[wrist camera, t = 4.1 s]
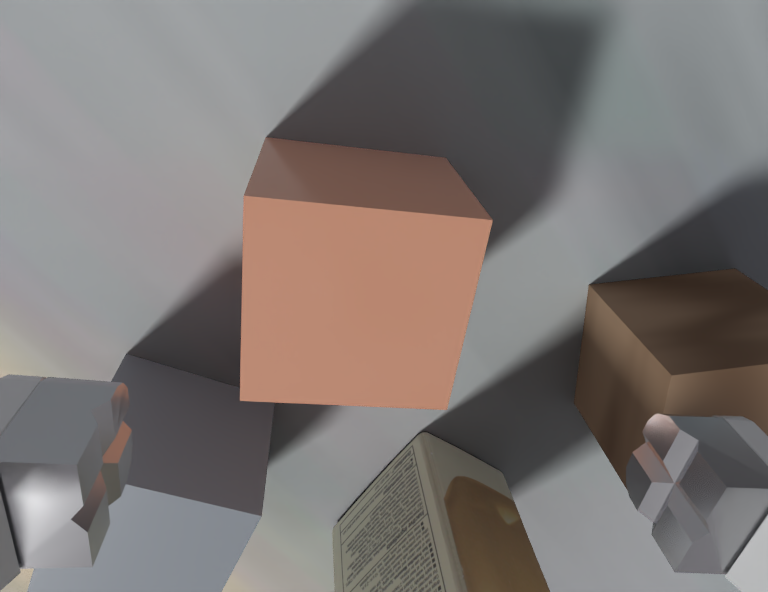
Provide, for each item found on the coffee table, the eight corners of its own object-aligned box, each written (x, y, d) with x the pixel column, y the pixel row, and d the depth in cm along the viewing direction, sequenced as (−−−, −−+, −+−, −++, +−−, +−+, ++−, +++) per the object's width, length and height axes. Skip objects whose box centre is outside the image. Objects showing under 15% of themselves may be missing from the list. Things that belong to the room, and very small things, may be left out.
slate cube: (275, 396, 19) (261, 516, 15) (228, 493, 21) (204, 623, 17) (127, 352, 18) (63, 469, 13) (92, 459, 20) (27, 592, 15)
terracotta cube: (445, 157, 16) (493, 220, 11) (416, 308, 18) (447, 409, 14) (266, 136, 15) (243, 195, 11) (260, 297, 17) (239, 401, 13)
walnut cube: (733, 267, 19) (861, 352, 14) (702, 385, 21) (801, 489, 17) (587, 283, 18) (671, 375, 14) (572, 401, 21) (640, 511, 16)
